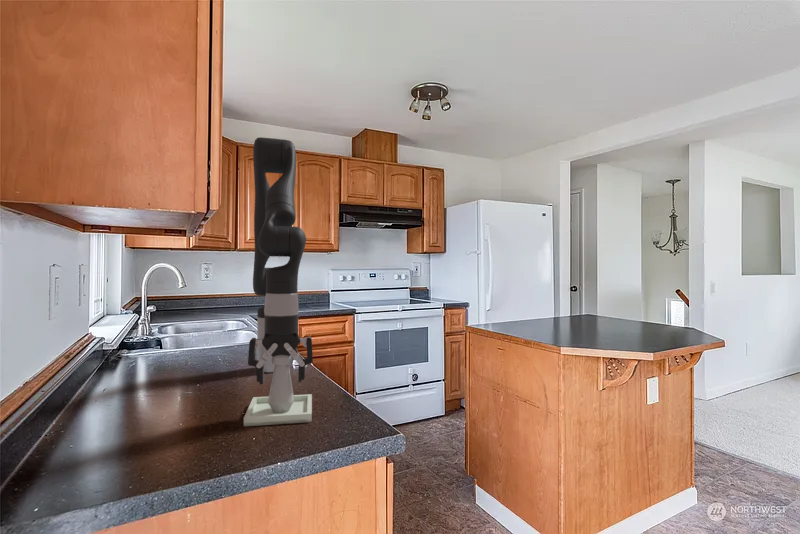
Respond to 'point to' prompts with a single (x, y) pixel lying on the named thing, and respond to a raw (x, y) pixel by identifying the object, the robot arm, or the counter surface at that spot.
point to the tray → (264, 415)
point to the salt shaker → (281, 385)
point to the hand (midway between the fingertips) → (281, 382)
